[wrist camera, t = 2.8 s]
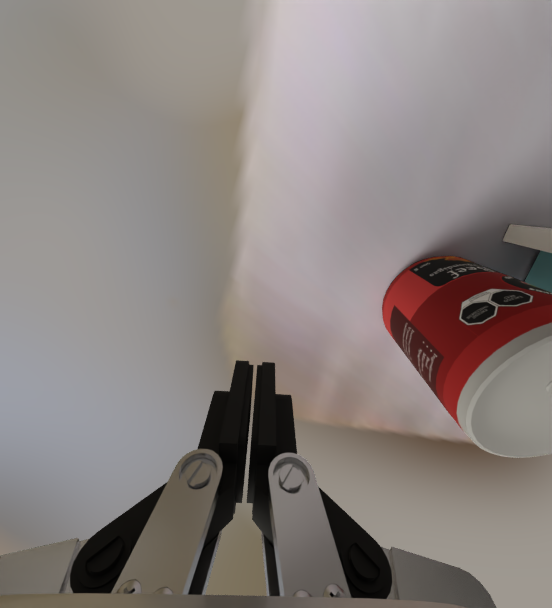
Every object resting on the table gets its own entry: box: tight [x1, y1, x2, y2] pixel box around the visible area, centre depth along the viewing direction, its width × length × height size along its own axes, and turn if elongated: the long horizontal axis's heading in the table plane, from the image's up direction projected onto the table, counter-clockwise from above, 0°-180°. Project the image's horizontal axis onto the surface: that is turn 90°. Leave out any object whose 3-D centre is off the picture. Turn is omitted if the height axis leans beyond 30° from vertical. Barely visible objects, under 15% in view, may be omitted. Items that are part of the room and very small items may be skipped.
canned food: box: [382, 256, 552, 458], centre depth 16 cm, size 8×8×11 cm
